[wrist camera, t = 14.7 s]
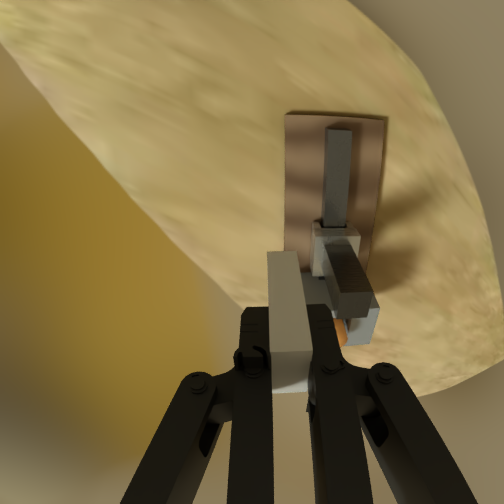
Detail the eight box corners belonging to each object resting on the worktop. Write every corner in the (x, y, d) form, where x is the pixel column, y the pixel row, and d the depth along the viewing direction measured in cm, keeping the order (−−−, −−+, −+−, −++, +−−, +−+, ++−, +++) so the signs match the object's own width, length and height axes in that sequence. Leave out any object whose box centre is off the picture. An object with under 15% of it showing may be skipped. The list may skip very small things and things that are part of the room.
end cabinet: (287, 272, 47) (291, 312, 39) (363, 270, 47) (380, 308, 39) (285, 308, 51) (289, 348, 43) (356, 305, 50) (369, 343, 43)
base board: (284, 114, 36) (285, 114, 36) (382, 119, 36) (384, 120, 35) (282, 309, 52) (282, 312, 51) (356, 306, 51) (357, 309, 51)
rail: (325, 127, 36) (328, 129, 35) (347, 128, 36) (352, 131, 34) (316, 272, 47) (318, 279, 45) (335, 271, 47) (338, 279, 45)
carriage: (310, 221, 43) (330, 283, 30) (352, 221, 42) (386, 281, 30) (308, 259, 46) (324, 327, 33) (347, 258, 45) (374, 324, 33)
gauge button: (318, 295, 45) (327, 333, 38) (338, 294, 45) (349, 332, 38) (316, 310, 47) (324, 349, 40) (335, 310, 47) (345, 347, 40)
